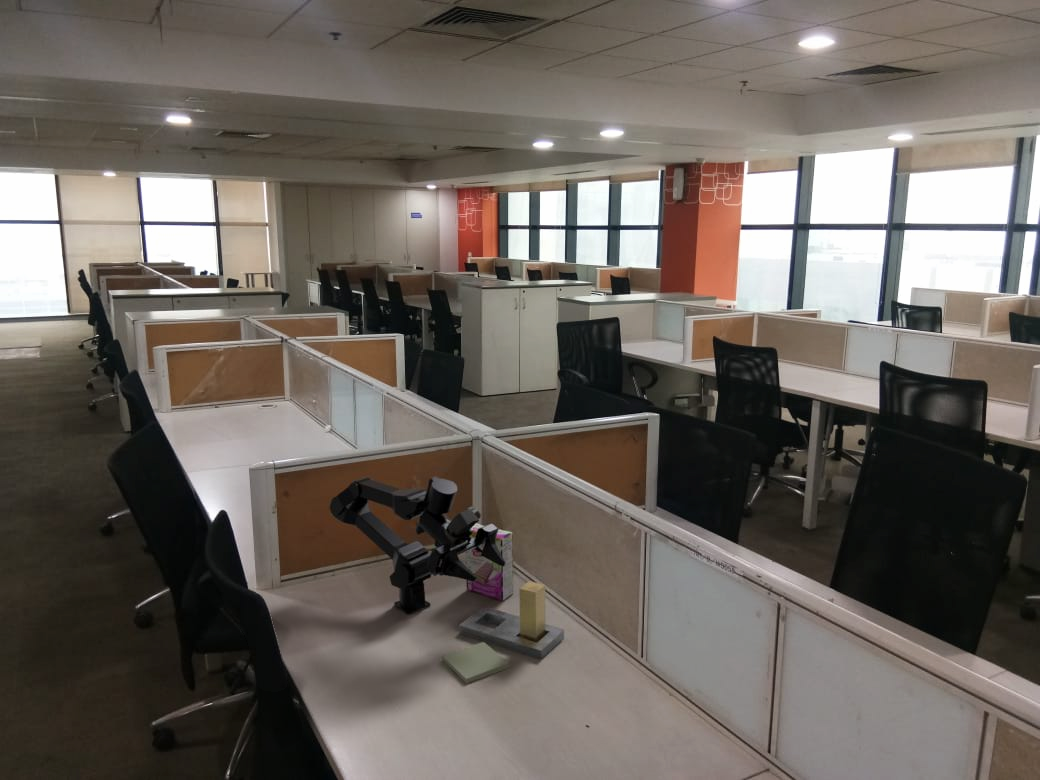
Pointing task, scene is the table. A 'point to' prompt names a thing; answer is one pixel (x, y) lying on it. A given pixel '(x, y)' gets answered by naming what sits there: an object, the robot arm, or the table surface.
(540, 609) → the brass peg
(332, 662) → the table surface
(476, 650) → the olive rubber mat
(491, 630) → the steel rail plate
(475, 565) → the candy bar box
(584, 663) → the table surface
